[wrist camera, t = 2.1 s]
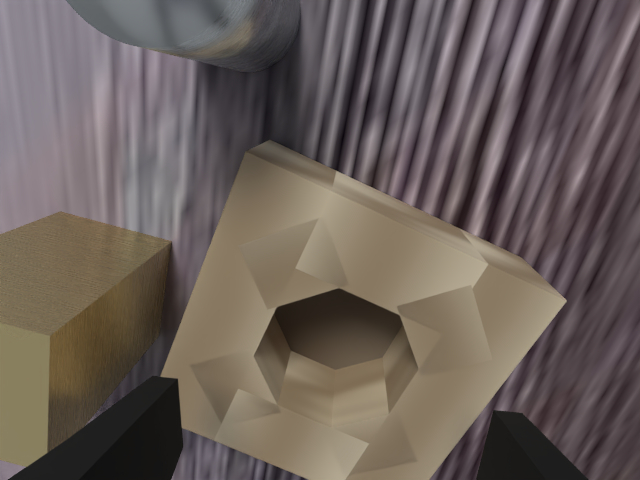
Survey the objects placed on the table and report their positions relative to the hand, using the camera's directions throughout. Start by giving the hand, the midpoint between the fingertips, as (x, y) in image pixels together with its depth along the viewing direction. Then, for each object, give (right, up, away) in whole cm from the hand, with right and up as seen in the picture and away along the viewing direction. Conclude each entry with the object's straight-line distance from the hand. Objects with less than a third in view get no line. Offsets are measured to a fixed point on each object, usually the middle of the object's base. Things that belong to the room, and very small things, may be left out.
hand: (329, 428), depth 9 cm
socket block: (0, +2, +5) cm, 6 cm away
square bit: (-8, +3, +5) cm, 10 cm away
